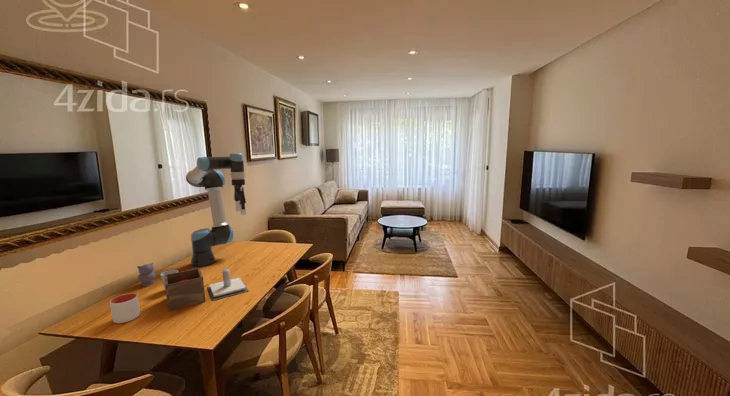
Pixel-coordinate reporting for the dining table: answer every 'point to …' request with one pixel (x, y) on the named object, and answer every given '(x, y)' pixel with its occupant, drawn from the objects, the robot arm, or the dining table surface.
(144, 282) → the cat figurine
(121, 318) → the cup
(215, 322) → the dining table surface
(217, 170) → the robot arm
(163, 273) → the cup
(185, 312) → the dining table surface
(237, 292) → the mat
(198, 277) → the box
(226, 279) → the lid
